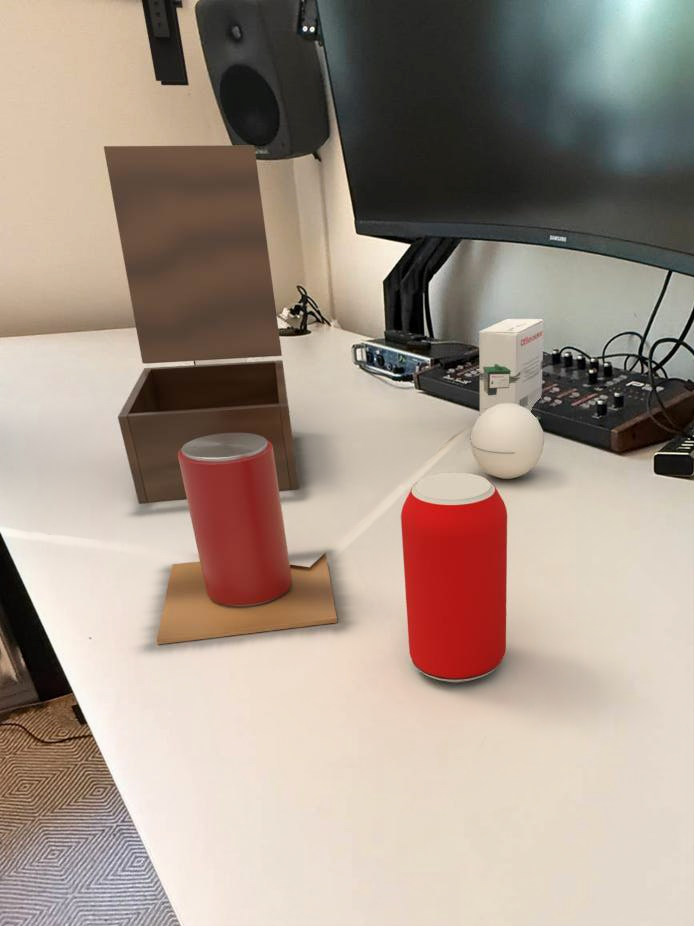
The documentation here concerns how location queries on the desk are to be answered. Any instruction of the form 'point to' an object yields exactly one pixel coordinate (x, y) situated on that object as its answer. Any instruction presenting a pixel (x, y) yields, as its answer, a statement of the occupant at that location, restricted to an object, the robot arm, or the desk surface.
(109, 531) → the desk surface
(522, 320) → the ink box
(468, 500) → the beverage can
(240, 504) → the can
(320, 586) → the mat
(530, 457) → the white ball
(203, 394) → the chest
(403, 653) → the desk surface
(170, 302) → the lid
